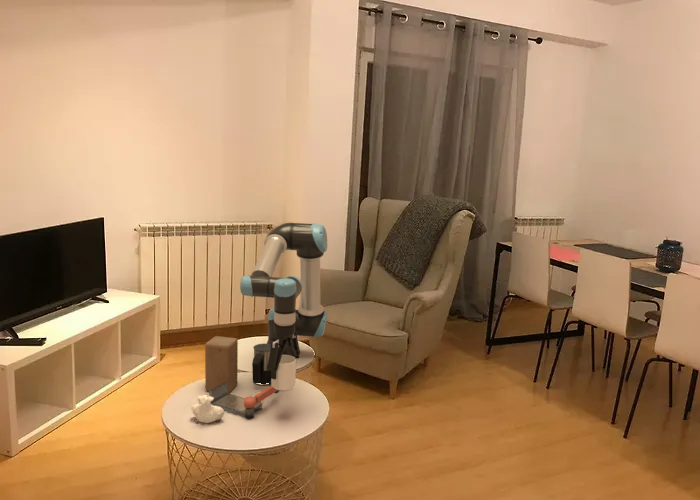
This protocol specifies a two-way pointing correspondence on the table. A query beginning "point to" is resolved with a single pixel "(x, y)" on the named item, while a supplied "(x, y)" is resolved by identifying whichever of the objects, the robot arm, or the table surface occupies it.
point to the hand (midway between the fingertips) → (283, 380)
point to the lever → (258, 397)
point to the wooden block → (221, 362)
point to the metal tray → (231, 402)
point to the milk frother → (261, 364)
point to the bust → (207, 410)
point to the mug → (286, 372)
